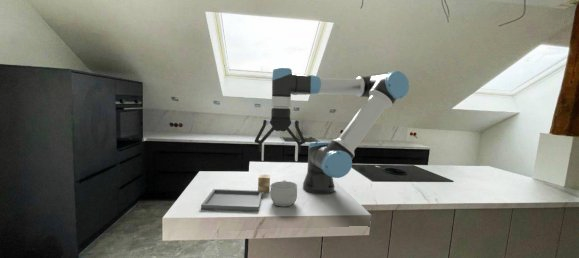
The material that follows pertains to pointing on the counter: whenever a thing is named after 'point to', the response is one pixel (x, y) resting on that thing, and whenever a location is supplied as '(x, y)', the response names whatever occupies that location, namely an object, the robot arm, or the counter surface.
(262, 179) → the oak block
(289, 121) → the robot arm
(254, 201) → the tray
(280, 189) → the teacup
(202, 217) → the counter surface
